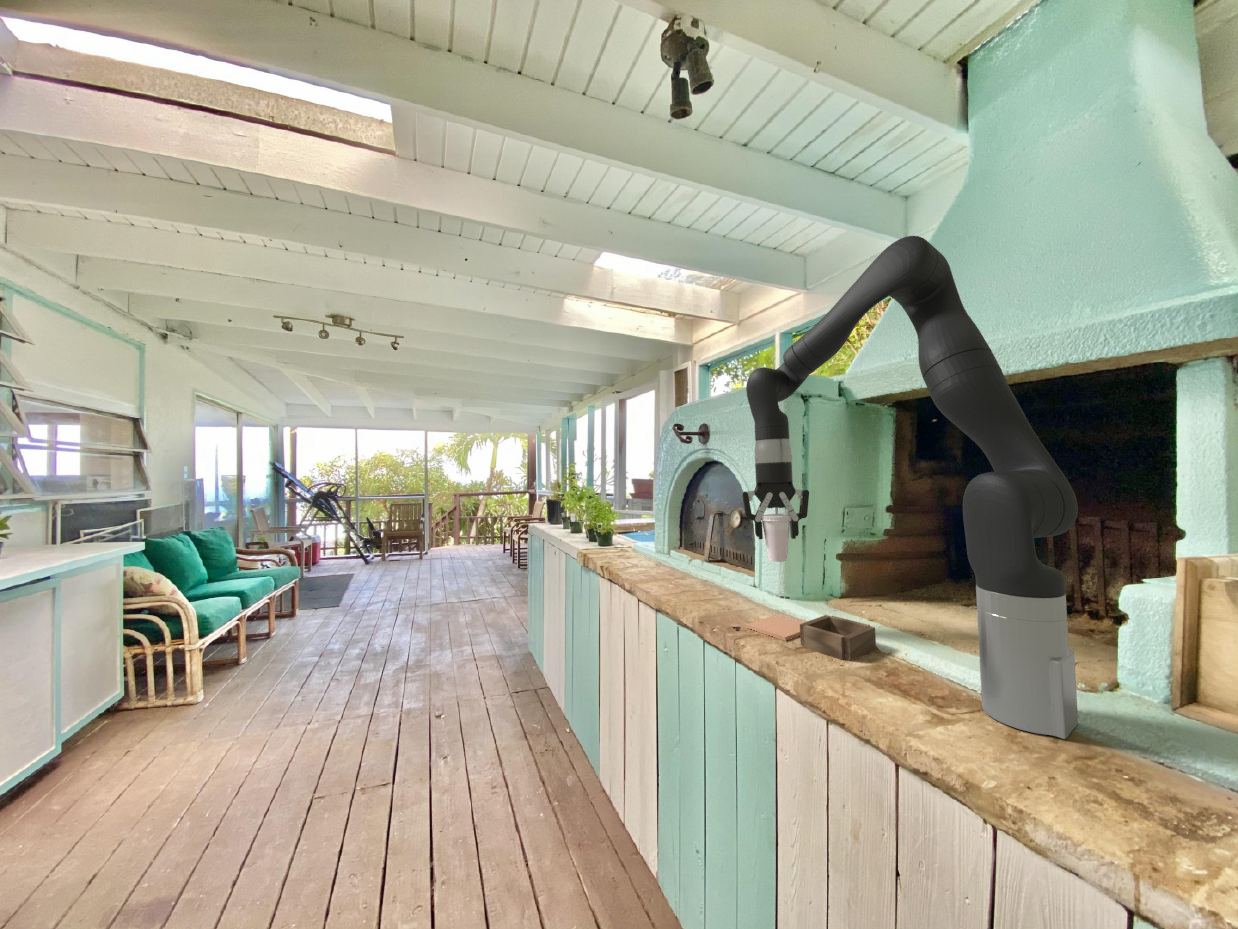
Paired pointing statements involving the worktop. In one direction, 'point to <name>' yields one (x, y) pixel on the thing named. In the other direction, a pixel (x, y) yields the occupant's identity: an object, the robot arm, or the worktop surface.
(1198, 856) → the worktop surface
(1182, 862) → the worktop surface
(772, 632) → the terracotta tile
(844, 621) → the wooden storage tray
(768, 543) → the smoothie
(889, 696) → the worktop surface
